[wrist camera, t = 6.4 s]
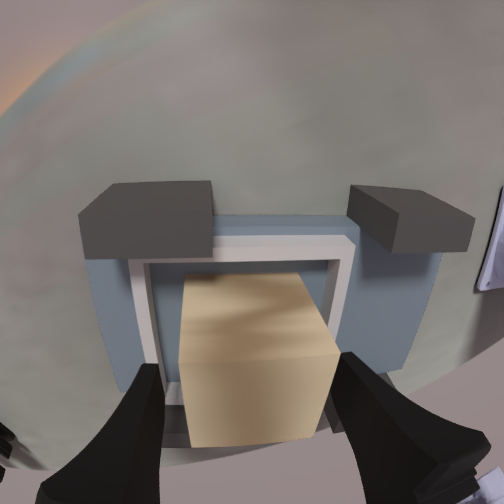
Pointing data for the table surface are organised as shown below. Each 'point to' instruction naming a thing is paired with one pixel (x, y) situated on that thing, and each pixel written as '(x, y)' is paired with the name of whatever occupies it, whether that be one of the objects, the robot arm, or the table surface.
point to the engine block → (253, 359)
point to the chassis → (262, 271)
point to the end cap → (5, 445)
